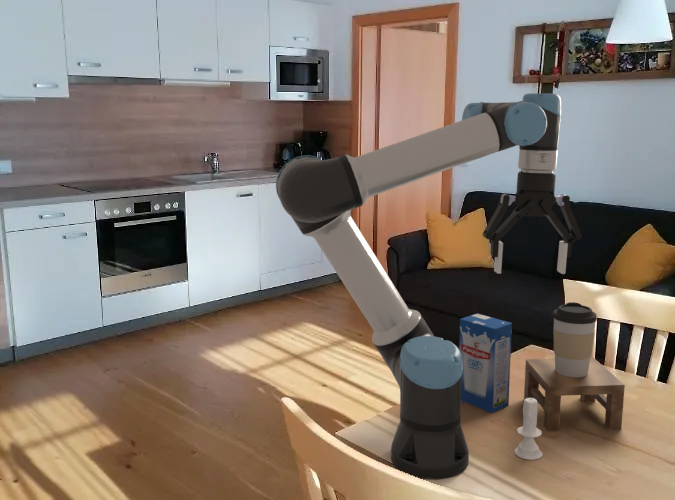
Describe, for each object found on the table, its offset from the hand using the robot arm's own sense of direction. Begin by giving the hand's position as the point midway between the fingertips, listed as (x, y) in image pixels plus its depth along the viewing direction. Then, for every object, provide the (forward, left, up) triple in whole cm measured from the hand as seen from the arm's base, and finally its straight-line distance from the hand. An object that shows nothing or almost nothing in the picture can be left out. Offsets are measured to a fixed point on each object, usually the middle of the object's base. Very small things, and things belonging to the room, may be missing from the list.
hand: (529, 272), depth 141 cm
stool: (+12, +3, -34) cm, 36 cm away
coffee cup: (+11, +3, -24) cm, 26 cm away
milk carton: (-6, +10, -34) cm, 36 cm away
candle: (-3, -14, -34) cm, 37 cm away
